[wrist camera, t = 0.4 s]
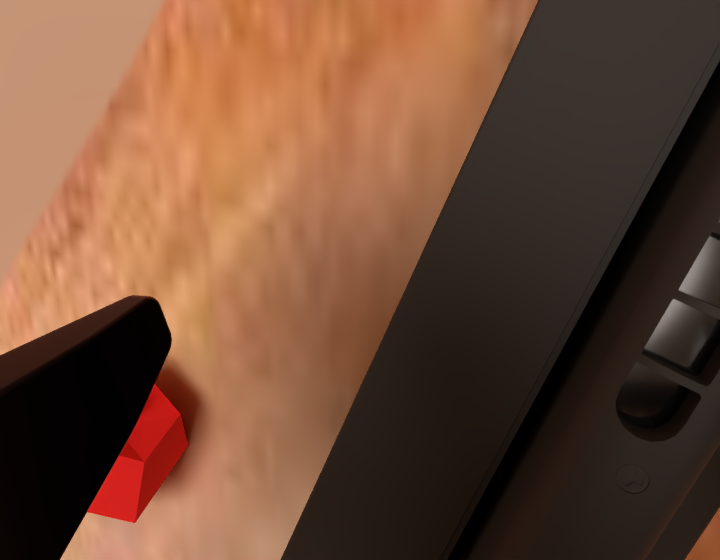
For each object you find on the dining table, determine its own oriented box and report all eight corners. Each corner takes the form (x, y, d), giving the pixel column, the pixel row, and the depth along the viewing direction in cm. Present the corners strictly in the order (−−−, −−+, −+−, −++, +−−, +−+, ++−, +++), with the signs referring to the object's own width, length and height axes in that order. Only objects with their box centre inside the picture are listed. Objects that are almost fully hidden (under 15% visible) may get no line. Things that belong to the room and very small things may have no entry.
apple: (41, 590, 24) (78, 528, 19) (-15, 452, 26) (5, 364, 21) (184, 511, 29) (243, 445, 24) (128, 401, 31) (171, 320, 26)
